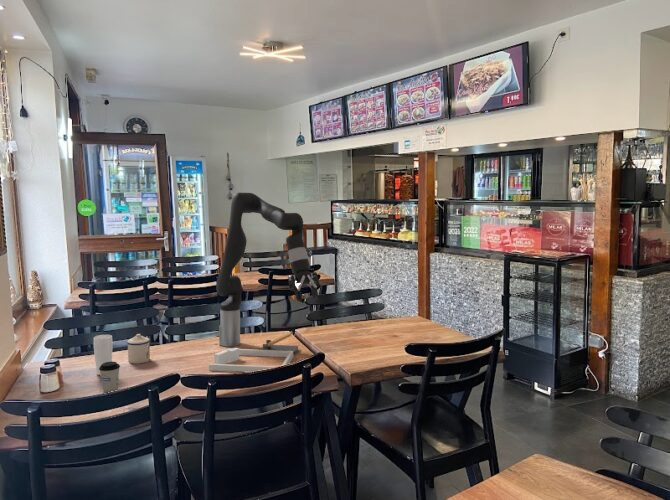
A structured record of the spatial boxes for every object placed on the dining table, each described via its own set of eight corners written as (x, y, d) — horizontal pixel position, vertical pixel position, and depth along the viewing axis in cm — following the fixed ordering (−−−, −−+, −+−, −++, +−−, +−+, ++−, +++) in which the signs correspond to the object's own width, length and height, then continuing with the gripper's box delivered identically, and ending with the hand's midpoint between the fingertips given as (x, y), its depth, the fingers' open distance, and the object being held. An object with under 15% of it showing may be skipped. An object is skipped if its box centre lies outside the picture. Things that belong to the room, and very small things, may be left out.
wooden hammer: (265, 349, 222) (263, 346, 222) (267, 345, 227) (266, 343, 227) (291, 336, 220) (289, 333, 220) (293, 333, 225) (291, 330, 225)
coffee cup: (114, 385, 180) (113, 359, 179) (124, 389, 176) (123, 363, 175) (95, 391, 175) (94, 364, 174) (106, 395, 171) (105, 368, 170)
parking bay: (209, 370, 197) (208, 364, 197) (226, 353, 220) (226, 348, 219) (283, 373, 195) (283, 367, 194) (293, 356, 217) (293, 351, 216)
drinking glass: (98, 370, 196) (97, 334, 194) (116, 370, 196) (114, 334, 195) (91, 376, 189) (90, 339, 187) (109, 376, 189) (108, 339, 188)
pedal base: (260, 353, 221) (260, 344, 221) (264, 348, 229) (264, 339, 229) (295, 354, 219) (295, 345, 219) (298, 349, 227) (298, 340, 227)
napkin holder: (212, 369, 200) (212, 356, 200) (209, 361, 211) (209, 348, 210) (248, 365, 206) (248, 352, 205) (243, 357, 216) (243, 344, 216)
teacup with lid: (152, 362, 207) (151, 335, 206) (129, 365, 202) (128, 338, 201) (147, 354, 217) (147, 329, 216) (125, 357, 213) (125, 331, 212)
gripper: (305, 261, 203) (314, 298, 201) (279, 263, 193) (288, 303, 191) (317, 256, 198) (326, 295, 196) (291, 259, 188) (300, 299, 186)
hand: (307, 299), depth 193 cm, fingers open, 8 cm apart
